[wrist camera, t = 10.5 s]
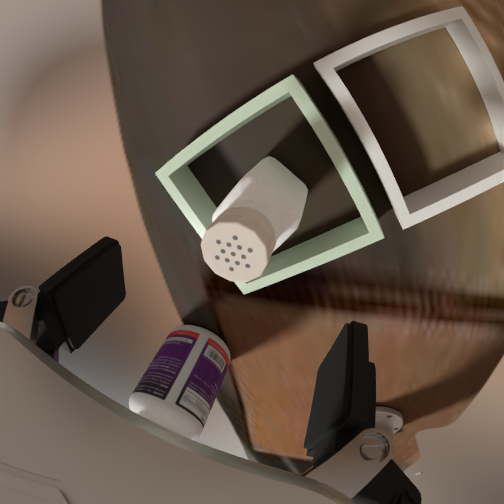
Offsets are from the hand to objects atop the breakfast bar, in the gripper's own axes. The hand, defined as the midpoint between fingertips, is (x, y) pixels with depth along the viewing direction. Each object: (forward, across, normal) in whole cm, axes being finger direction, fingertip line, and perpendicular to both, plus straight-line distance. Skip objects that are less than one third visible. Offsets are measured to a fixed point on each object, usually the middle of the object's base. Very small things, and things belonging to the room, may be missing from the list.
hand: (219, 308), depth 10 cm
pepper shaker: (+12, +1, -1) cm, 13 cm away
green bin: (+12, +1, -1) cm, 12 cm away
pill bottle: (+13, +5, +20) cm, 24 cm away
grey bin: (+12, -8, -10) cm, 18 cm away
